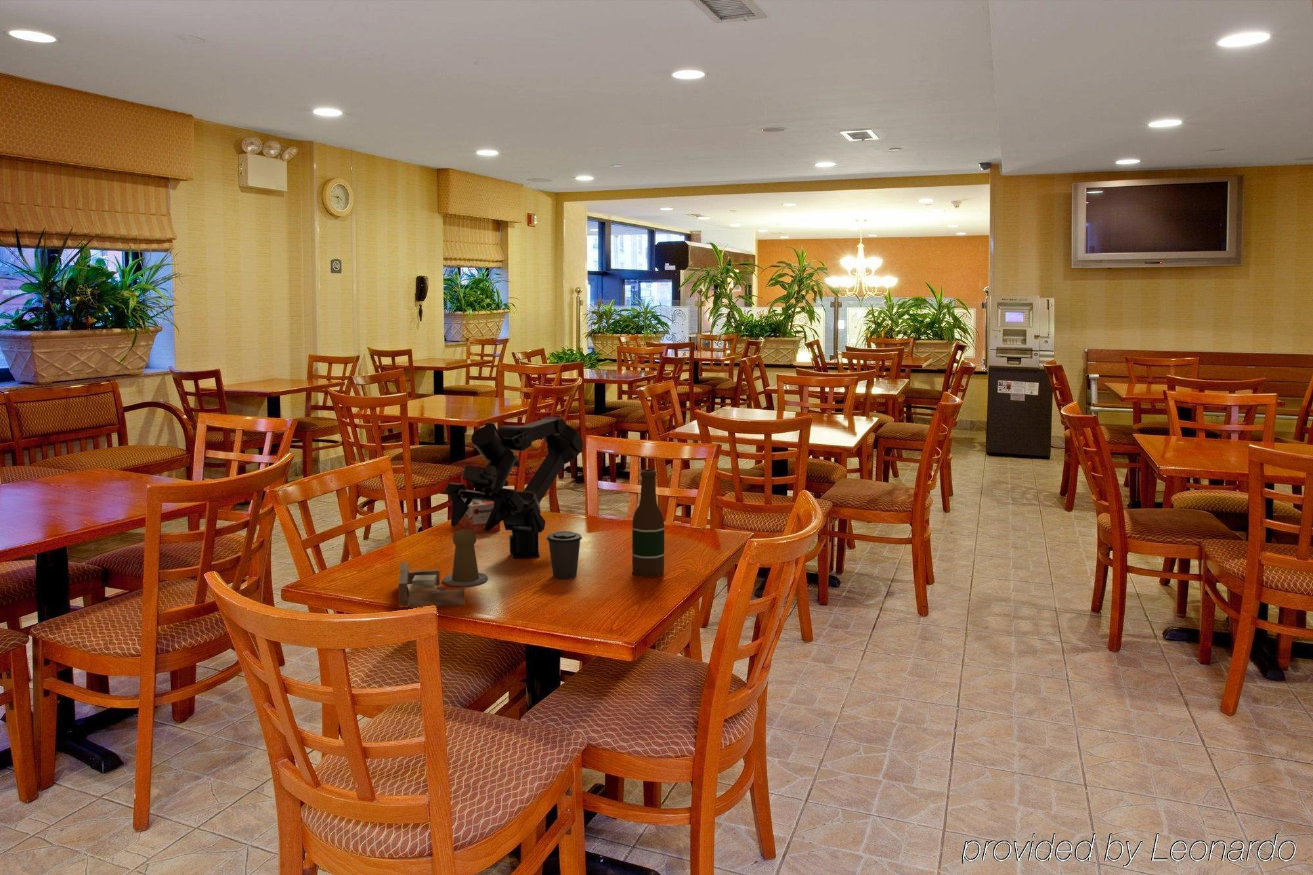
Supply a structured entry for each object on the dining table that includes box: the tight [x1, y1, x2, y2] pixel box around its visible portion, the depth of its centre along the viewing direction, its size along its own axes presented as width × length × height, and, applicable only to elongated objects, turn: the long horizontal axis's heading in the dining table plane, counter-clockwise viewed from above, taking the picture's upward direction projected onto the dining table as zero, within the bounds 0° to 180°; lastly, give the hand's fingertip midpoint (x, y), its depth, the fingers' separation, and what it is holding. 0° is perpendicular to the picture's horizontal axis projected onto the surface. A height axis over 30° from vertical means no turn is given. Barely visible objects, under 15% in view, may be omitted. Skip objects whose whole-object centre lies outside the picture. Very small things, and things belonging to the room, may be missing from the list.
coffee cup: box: [546, 530, 583, 580], centre depth 217 cm, size 8×8×10 cm
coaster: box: [442, 572, 489, 588], centre depth 214 cm, size 10×10×1 cm
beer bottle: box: [631, 469, 665, 578], centre depth 219 cm, size 8×8×24 cm
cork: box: [451, 528, 480, 582], centre depth 214 cm, size 6×6×11 cm
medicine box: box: [458, 499, 501, 534], centre depth 264 cm, size 15×8×8 cm, turn 25°
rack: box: [398, 561, 466, 609], centre depth 204 cm, size 13×17×5 cm
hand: (468, 528), depth 214 cm, fingers open, 9 cm apart
